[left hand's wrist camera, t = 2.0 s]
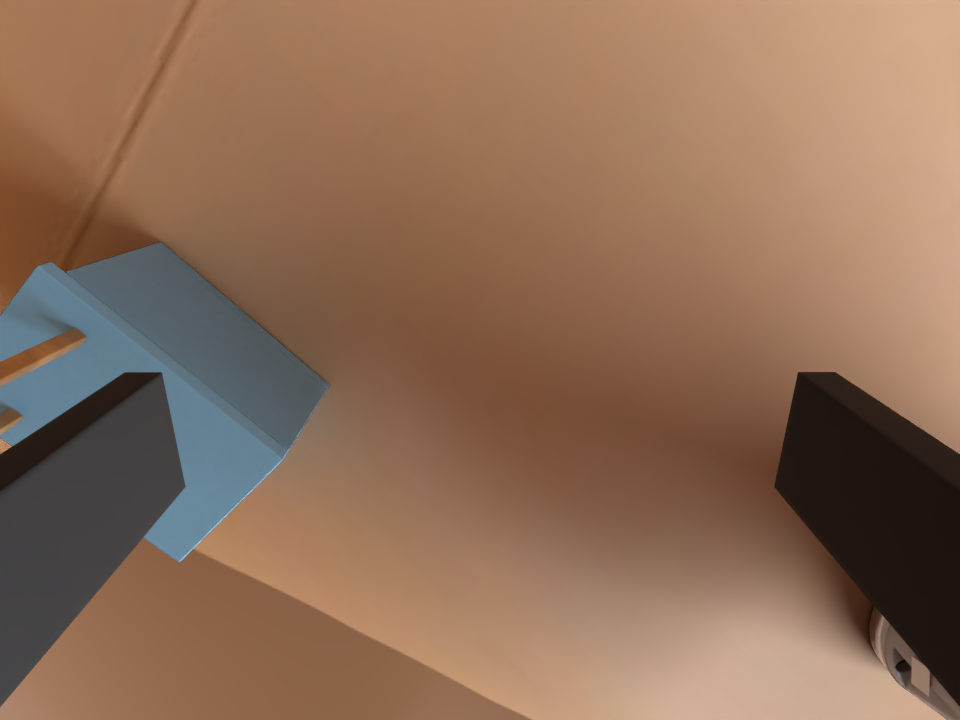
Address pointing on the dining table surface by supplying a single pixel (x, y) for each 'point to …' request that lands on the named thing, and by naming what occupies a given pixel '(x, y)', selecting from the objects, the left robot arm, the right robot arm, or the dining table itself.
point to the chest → (207, 337)
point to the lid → (100, 359)
